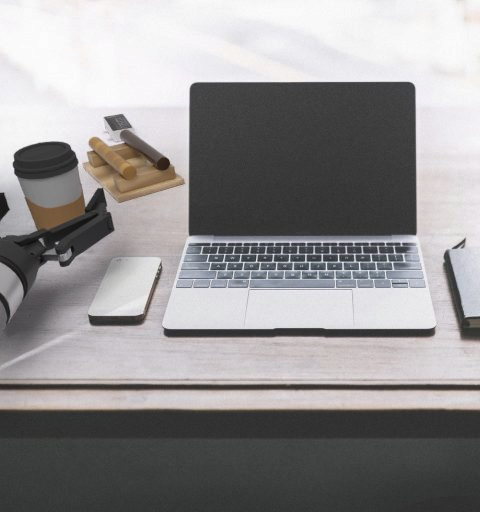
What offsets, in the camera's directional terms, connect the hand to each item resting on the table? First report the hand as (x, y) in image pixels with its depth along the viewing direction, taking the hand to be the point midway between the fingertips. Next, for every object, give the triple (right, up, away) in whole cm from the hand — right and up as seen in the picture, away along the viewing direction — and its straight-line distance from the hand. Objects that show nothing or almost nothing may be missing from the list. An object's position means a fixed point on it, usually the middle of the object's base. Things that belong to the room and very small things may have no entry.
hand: (53, 198), depth 86 cm
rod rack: (+3, +7, +27) cm, 28 cm away
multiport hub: (-6, +18, +47) cm, 51 cm away
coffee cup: (0, -7, +5) cm, 8 cm away
